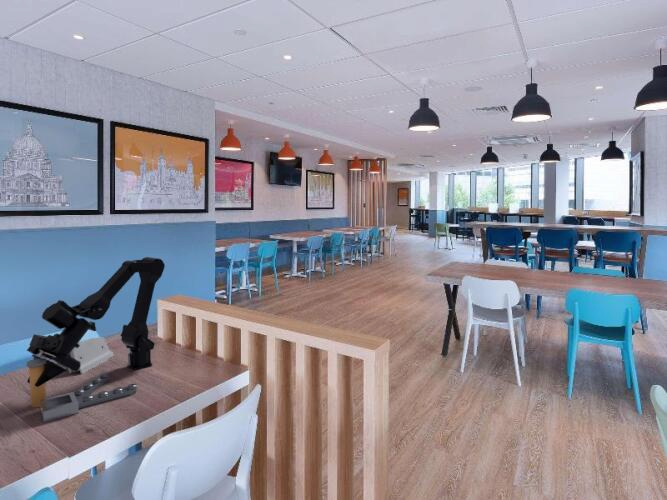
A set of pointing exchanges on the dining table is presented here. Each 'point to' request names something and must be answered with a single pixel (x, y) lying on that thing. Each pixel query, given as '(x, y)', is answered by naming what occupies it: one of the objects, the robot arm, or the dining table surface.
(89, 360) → the hinge
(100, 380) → the grey forked bracket
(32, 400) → the pin
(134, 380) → the dining table surface
